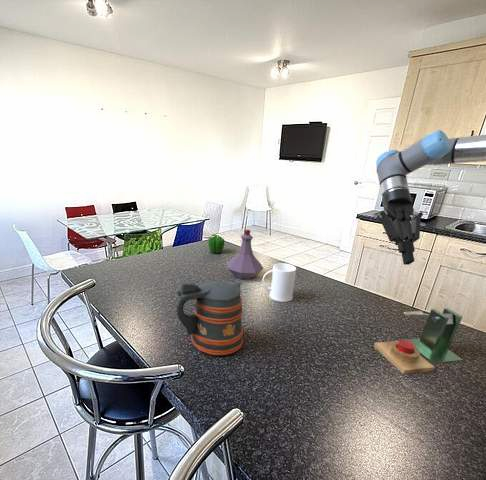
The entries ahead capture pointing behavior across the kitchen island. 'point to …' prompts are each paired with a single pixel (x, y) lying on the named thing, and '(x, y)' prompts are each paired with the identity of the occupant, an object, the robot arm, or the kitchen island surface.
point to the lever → (425, 315)
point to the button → (405, 346)
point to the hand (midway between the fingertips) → (409, 262)
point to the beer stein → (213, 316)
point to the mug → (281, 282)
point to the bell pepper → (216, 244)
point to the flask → (245, 260)
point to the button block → (404, 358)
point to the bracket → (438, 337)
